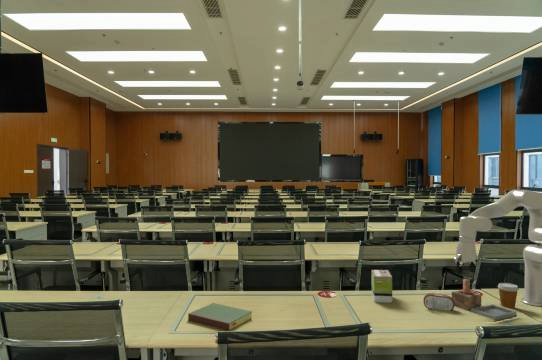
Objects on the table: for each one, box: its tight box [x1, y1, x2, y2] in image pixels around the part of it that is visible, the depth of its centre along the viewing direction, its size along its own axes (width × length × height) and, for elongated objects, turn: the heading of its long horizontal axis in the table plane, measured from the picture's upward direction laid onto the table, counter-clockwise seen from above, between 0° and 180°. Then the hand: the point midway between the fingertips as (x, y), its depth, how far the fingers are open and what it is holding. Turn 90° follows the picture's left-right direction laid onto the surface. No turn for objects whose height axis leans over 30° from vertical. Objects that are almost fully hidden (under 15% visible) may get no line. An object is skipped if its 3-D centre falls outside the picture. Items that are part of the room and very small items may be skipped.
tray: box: [470, 304, 517, 323], centre depth 205 cm, size 16×13×2 cm
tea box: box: [371, 269, 393, 304], centre depth 231 cm, size 15×10×15 cm, turn 172°
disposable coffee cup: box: [497, 282, 519, 310], centre depth 216 cm, size 10×10×12 cm
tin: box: [423, 292, 456, 312], centre depth 211 cm, size 15×3×8 cm, turn 65°
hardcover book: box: [187, 302, 253, 331], centre depth 197 cm, size 25×19×4 cm
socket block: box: [451, 289, 482, 312], centre depth 215 cm, size 10×10×8 cm
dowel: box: [462, 278, 471, 295], centre depth 215 cm, size 3×3×14 cm
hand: (465, 272), depth 214 cm, fingers open, 9 cm apart
